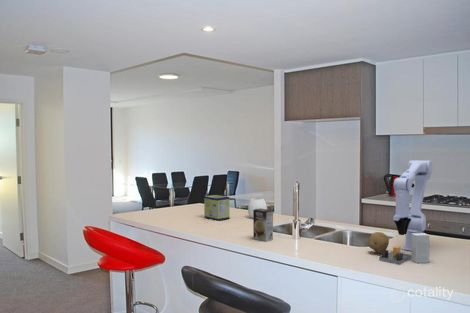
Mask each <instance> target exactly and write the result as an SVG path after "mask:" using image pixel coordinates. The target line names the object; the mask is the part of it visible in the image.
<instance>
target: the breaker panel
mask: <svg viewBox="0 0 470 313" xmlns="http://www.w3.org/2000/svg"><path fill="white" fill-rule="evenodd" d="M379 260H380V262H386V263H390V264H394V263H395V264H396V265H399V264H400V265H402V264H404V263H405V262H408V261H409V260H412V253H411V254H410V253H405V252H400V253H397V254H396V256H395V255H393V250H390V252H389V250H388V249H386V250H383V251H382V253H381V256H379V258H378V261H379ZM403 262H404V263H403ZM401 263H402V264H401ZM395 264H394V265H395Z"/></svg>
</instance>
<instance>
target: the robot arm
mask: <svg viewBox="0 0 470 313" xmlns="http://www.w3.org/2000/svg"><path fill="white" fill-rule="evenodd" d="M407 164H408V165H407V169H406V170H405V171H403V173H401V175H400V176H399V177H396V178H395V179H394V181H393V189H394V195H395V213H394V215H393V216H392V218H393V219H392V220H393V222H394V223H395V226H396V228H397V233H398V235H399V236H404V235H405V237H404V238H405V242H404V243H405V244H404V245H405V246H404V247H402V248H401V250H405V251H410V252H412V241H411V234H412V233H424V231H425V230H426V228H427V227H426V226H427V217H426V215H425V214H424V213H423V212H422V208H423V201H424V195H425V190H426V185H427V181H429V180H430V179H431V177H432V171H433V163H432V160H429V159H428V160H415V159H414V160H413V159H410V160H409V161H408V163H407ZM414 181H415V182H414ZM413 182H414V188H413V192H412V197H411V202H410V193H411V192H410V191H411V190H412V186H413Z"/></svg>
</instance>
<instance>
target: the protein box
mask: <svg viewBox="0 0 470 313" xmlns="http://www.w3.org/2000/svg"><path fill="white" fill-rule="evenodd" d="M203 197H204V198H203V200H204V202H203V203H204V205H203V206H204V207H203V208H204V209H203V210H204V214H203V215H204V219H207V220H211V221H216V222H220V221H225V220H230V217H231V216H230V214H231V213H230V196H225V195H219V194H218V195H217V194H212V195H204V196H203Z"/></svg>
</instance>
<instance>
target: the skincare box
mask: <svg viewBox="0 0 470 313" xmlns="http://www.w3.org/2000/svg"><path fill="white" fill-rule="evenodd" d="M411 241H412V251H411V255H412V259H411V261H412V262H414V263H415V264H427V263H430V234H427V233H425V232H423V233H412V234H411Z"/></svg>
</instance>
